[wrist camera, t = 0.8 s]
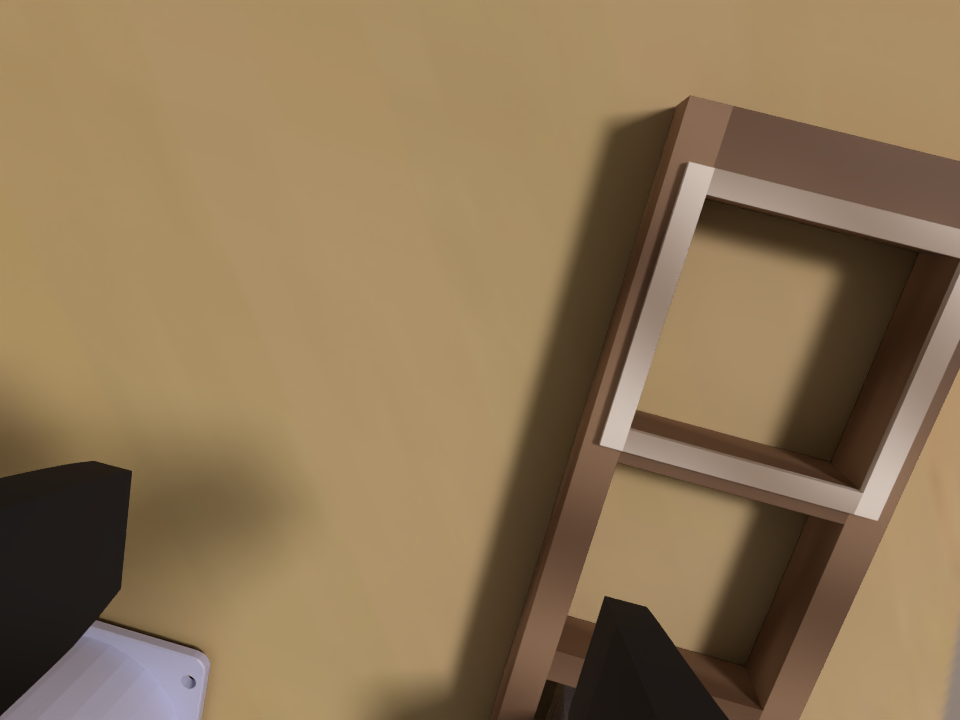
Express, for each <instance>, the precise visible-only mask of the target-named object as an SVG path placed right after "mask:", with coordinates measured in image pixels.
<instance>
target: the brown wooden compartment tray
mask: <svg viewBox="0 0 960 720" xmlns="http://www.w3.org/2000/svg"><path fill="white" fill-rule="evenodd" d="M705 199H708V200H712V201H716V202H720V203H724V204H728V205H732V206H736V207H740V208H744V209H748V210H752V211H756V212H760V213H764V214H768V215H772V216H776V217H780V218H784V219H788V220H792V221H796V222H800V223H803V224H807V225H811V226H815V227H819V228H823V229H827V230H831V231H835V232H839V233H843V234H847V235H851V236H855V237H859V238H863V239H867V240H871V241H875V242H879V243H883V244H887V245H891V246H895V247H899V248H903V249H907V250H911V251H915V252H918V253H919V254H918V257H917V259H916V262H915V264H914V266H913V269H912V271H911V274H910V276H909V278H908V281H907V283H906V285H905V288H904V290H903V293H902V295H901V297H900V300H899V302H898V305H897V307H896V309H895V312H894V314H893V316H892V319H891V321H890V324H889V326H888V328H887V331H886V333H885V335H884V338H883V340H882V343H881V345H880V347H879V350H878V352H877V355H876V357H875V359H874V362H873V364H872V366H871V369H870V371H869V374H868V376H867V378H866V381H865V383H864V385H863V388H862V390H861V393H860V395H859V397H858V400H857V402H856V405H855V407H854V409H853V412H852V414H851V416H850V419H849V421H848V424H847V426H846V428H845V431H844V433H843V436H842V438H841V440H840V443H839V445H838V447H837V450H836V452H835V455H834V457H833V459H832V462H827V461H823V460H820V459H816V458H812V457H809V456H805V455H801V454H797V453H794V452H790V451H786V450H783V449H779V448H775V447H772V446H768V445H764V444H760V443H757V442H753V441H749V440H746V439H742V438H738V437H734V436H731V435H727V434H723V433H720V432H716V431H712V430H708V429H705V428H701V427H697V426H694V425H690V424H686V423H683V422H679V421H675V420H671V419H668V418H664V417H660V416H657V415H653V414H649V413H645V412H642V411H638V410H636V408H637V405H638V402H639V399H640V396H641V393H642V390H643V387H644V384H645V381H646V378H647V375H648V372H649V369H650V366H651V363H652V359H653V356H654V353H655V350H656V347H657V344H658V341H659V338H660V335H661V332H662V329H663V326H664V323H665V320H666V317H667V314H668V311H669V307H670V304H671V301H672V298H673V295H674V292H675V289H676V286H677V283H678V280H679V277H680V274H681V271H682V268H683V265H684V262H685V259H686V255H687V252H688V249H689V246H690V243H691V240H692V237H693V234H694V231H695V228H696V225H697V222H698V219H699V216H700V213H701V210H702V207H703V204H704V200H705ZM959 368H960V161H956V160H952V159H948V158H944V157H940V156H936V155H932V154H928V153H924V152H920V151H916V150H911V149H907V148H903V147H899V146H895V145H891V144H887V143H883V142H879V141H875V140H871V139H866V138H862V137H858V136H854V135H850V134H846V133H842V132H838V131H834V130H830V129H826V128H821V127H817V126H813V125H809V124H805V123H801V122H797V121H793V120H789V119H785V118H781V117H776V116H772V115H768V114H764V113H760V112H756V111H752V110H748V109H744V108H740V107H736V106H732V105H727V104H723V103H719V102H715V101H711V100H707V99H703V98H699V97H695V96H691V95H690V96H689V97H687V98H686V99H685V100H684V101H682V102H681V103H680V104H678V105H677V106H676V109H675V112H674V115H673V119H672V122H671V125H670V129H669V132H668V135H667V138H666V142H665V145H664V148H663V152H662V155H661V158H660V161H659V165H658V168H657V171H656V175H655V178H654V181H653V184H652V188H651V191H650V194H649V197H648V201H647V204H646V207H645V211H644V214H643V217H642V220H641V224H640V227H639V230H638V234H637V237H636V240H635V243H634V247H633V250H632V253H631V257H630V260H629V263H628V266H627V270H626V273H625V276H624V280H623V283H622V286H621V289H620V293H619V296H618V299H617V302H616V306H615V309H614V312H613V316H612V319H611V322H610V325H609V329H608V332H607V335H606V339H605V342H604V345H603V348H602V352H601V355H600V358H599V362H598V365H597V368H596V371H595V375H594V378H593V381H592V385H591V388H590V391H589V394H588V398H587V401H586V404H585V407H584V411H583V414H582V417H581V421H580V424H579V427H578V430H577V434H576V437H575V440H574V444H573V447H572V450H571V453H570V457H569V460H568V463H567V467H566V470H565V473H564V476H563V480H562V483H561V486H560V490H559V493H558V496H557V499H556V503H555V506H554V509H553V512H552V516H551V519H550V522H549V526H548V529H547V532H546V535H545V539H544V542H543V545H542V549H541V552H540V555H539V558H538V562H537V565H536V568H535V572H534V575H533V578H532V581H531V585H530V588H529V591H528V595H527V598H526V601H525V604H524V608H523V611H522V614H521V617H520V621H519V624H518V627H517V631H516V634H515V637H514V640H513V644H512V647H511V650H510V654H509V657H508V660H507V663H506V667H505V670H504V673H503V677H502V680H501V683H500V686H499V690H498V693H497V696H496V700H495V703H494V706H493V709H492V713H491V716H490V719H489V720H533V719H534V716H535V713H536V710H537V707H538V703H539V700H540V697H541V694H542V691H543V688H544V685H545V682H546V679H547V680H551V681H554V682H558V683H561V684H564V685H568V686H571V687H575V688H576V686H577V683H578V679H579V676H580V673H581V670H582V667H583V664H584V660H585V657H586V654H587V651H588V648H589V645H590V641H591V638H592V635H593V632H594V629H595V625H596V624H594V623H591V622H587V621H584V620H580V619H577V618H573V617H570V616H567V615H568V612H569V608H570V605H571V602H572V599H573V596H574V593H575V590H576V587H577V584H578V581H579V578H580V575H581V572H582V569H583V566H584V563H585V559H586V556H587V553H588V550H589V547H590V544H591V541H592V538H593V535H594V532H595V529H596V526H597V523H598V520H599V517H600V513H601V510H602V507H603V504H604V501H605V498H606V495H607V492H608V489H609V486H610V483H611V480H612V477H613V474H614V471H615V468H616V464H617V462H618V463H622V464H626V465H629V466H633V467H637V468H640V469H644V470H648V471H651V472H655V473H658V474H662V475H666V476H669V477H673V478H677V479H680V480H684V481H688V482H691V483H695V484H699V485H702V486H706V487H710V488H713V489H717V490H721V491H724V492H728V493H731V494H735V495H739V496H742V497H746V498H750V499H753V500H757V501H761V502H764V503H768V504H772V505H775V506H779V507H783V508H786V509H790V510H793V511H797V512H801V513H804V514H808V515H809V517H808V519H807V521H806V524H805V526H804V528H803V531H802V533H801V536H800V538H799V540H798V543H797V545H796V547H795V550H794V552H793V555H792V557H791V559H790V562H789V564H788V567H787V569H786V571H785V574H784V576H783V578H782V581H781V583H780V586H779V588H778V590H777V593H776V595H775V598H774V600H773V602H772V605H771V607H770V609H769V612H768V614H767V617H766V619H765V621H764V624H763V626H762V628H761V631H760V633H759V636H758V638H757V640H756V643H755V645H754V648H753V650H752V652H751V655H750V657H749V659H748V662H747V664H746V667H744V666H741V665H737V664H734V663H730V662H727V661H723V660H720V659H716V658H713V657H709V656H706V655H702V654H699V653H695V652H692V651H688V650H685V649H681V648H678V647H676V648H677V649H678V651H679V652H680V653H681V655H682V656H683V658H684V659H685V660H686V662H687V663H688V665H689V666H690V667H691V669H692V670H693V672H694V673H695V674H696V676H697V677H698V679H699V680H700V681H701V683H702V684H703V685H704V687H705V688H706V690H707V691H708V692H709V694H710V695H711V696H712V698H713V699H714V700H715V702H716V703H717V704H718V706H719V707H720V708H721V710H722V711H723V712H724V714H725V715H726V716H727V717H728V719H729V720H799V718H800V716H801V714H802V712H803V710H804V708H805V705H806V703H807V701H808V699H809V697H810V694H811V692H812V690H813V688H814V686H815V683H816V681H817V679H818V677H819V675H820V673H821V670H822V668H823V666H824V664H825V662H826V659H827V657H828V655H829V653H830V651H831V648H832V646H833V644H834V642H835V640H836V638H837V635H838V633H839V631H840V629H841V627H842V624H843V622H844V620H845V618H846V616H847V613H848V611H849V609H850V607H851V605H852V603H853V600H854V598H855V596H856V594H857V592H858V589H859V587H860V585H861V583H862V581H863V578H864V576H865V574H866V572H867V570H868V568H869V565H870V563H871V561H872V559H873V557H874V554H875V552H876V550H877V548H878V546H879V543H880V541H881V539H882V537H883V535H884V532H885V530H886V528H887V526H888V524H889V522H890V519H891V517H892V515H893V513H894V511H895V508H896V506H897V504H898V502H899V500H900V497H901V495H902V493H903V491H904V489H905V487H906V484H907V482H908V480H909V478H910V476H911V473H912V471H913V469H914V467H915V465H916V462H917V460H918V458H919V456H920V454H921V452H922V449H923V447H924V445H925V443H926V441H927V438H928V436H929V434H930V432H931V430H932V427H933V425H934V423H935V421H936V419H937V417H938V414H939V412H940V410H941V408H942V406H943V403H944V401H945V399H946V397H947V395H948V392H949V390H950V388H951V386H952V384H953V382H954V379H955V377H956V375H957V373H958V371H959Z"/></svg>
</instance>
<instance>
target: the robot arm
mask: <svg viewBox="0 0 960 720" xmlns="http://www.w3.org/2000/svg"><path fill="white" fill-rule="evenodd" d="M131 476H132V471H130V470H126V469H123V468H119V467H115V466H111V465H107V464H104V463H100V462H96V461H89V462H80V463H73V464H67V465H61V466H56V467H51V468H46V469H40V470H36V471H31V472H26V473H22V474H17V475H12V476H8V477H3V478H0V720H201V719H202V713H203V706H204V700H205V694H206V688H207V682H208V676H209V670H210V662H209V660H208V658H207V656H206V655H205V654H204V653H202V652H200V651H198V650H194V649H191V648H188V647H184V646H181V645H178V644H174V643H171V642H168V641H164V640H161V639H158V638H154V637H151V636H147V635H144V634H141V633H137V632H134V631H131V630H127V629H124V628H121V627H117V626H114V625H111V624H107V623H104V622H100V621H97V620H96V619H97V618H98V617H99V615H100V614H101V613H102V612H103V610H104V609H105V608H106V607H107V605H108V604H109V603H110V602H111V600H112V599H113V598H114V597H115V595H116V594H117V593H118V592H119V590H120V589H121V581H122V570H123V560H124V549H125V539H126V529H127V518H128V508H129V497H130V487H131ZM188 675H190V676H191V677H193V678H194V679H195V680H193V679H191V678H190V677H189V676H188ZM568 720H729V719H728V717H727V716H726V715H725V714H724V712H723V711H722V710H721V708H720V707H719V706H718V704H717V703H716V702H715V700H714V699H713V698H712V696H711V695H710V694H709V692H708V691H707V690H706V688H705V687H704V685H703V684H702V683H701V681H700V680H699V679H698V677H697V676H696V674H695V673H694V672H693V670H692V669H691V667H690V666H689V665H688V663H687V662H686V660H685V659H684V658H683V656H682V655H681V653H680V652H679V651H678V649H677V648H676V646H675V645H674V644H673V642H672V641H671V639H670V638H669V637H668V635H667V634H666V632H665V631H664V629H663V628H662V627H661V625H660V624H659V623H658V621H657V620H656V618H655V617H654V616H653V614H652V613H651V612H650V611H649V609H648V608H647V607H645V606H641V605H637V604H633V603H630V602H626V601H622V600H618V599H614V598H611V597H607V596H605V597H604V600H603V603H602V606H601V610H600V613H599V616H598V619H597V622H596V625H595V629H594V632H593V635H592V638H591V641H590V645H589V648H588V651H587V654H586V657H585V660H584V664H583V667H582V670H581V673H580V676H579V679H578V683H577V686H576V689H575V692H574V695H573V699H572V702H571V705H570V708H569V711H568Z"/></svg>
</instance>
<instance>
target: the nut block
mask: <svg viewBox="0 0 960 720" xmlns="http://www.w3.org/2000/svg"><path fill="white" fill-rule="evenodd" d="M575 689H576V688H575V687H571V686H568V685H564V684H561V683H557V686H556V689H555V692H554V695H553V698H552V701H551V704H550V707H549V710H548V713H547V716H546V719H545V720H568V711H569V708H570V705H571V702H572V699H573V695H574V692H575Z"/></svg>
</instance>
